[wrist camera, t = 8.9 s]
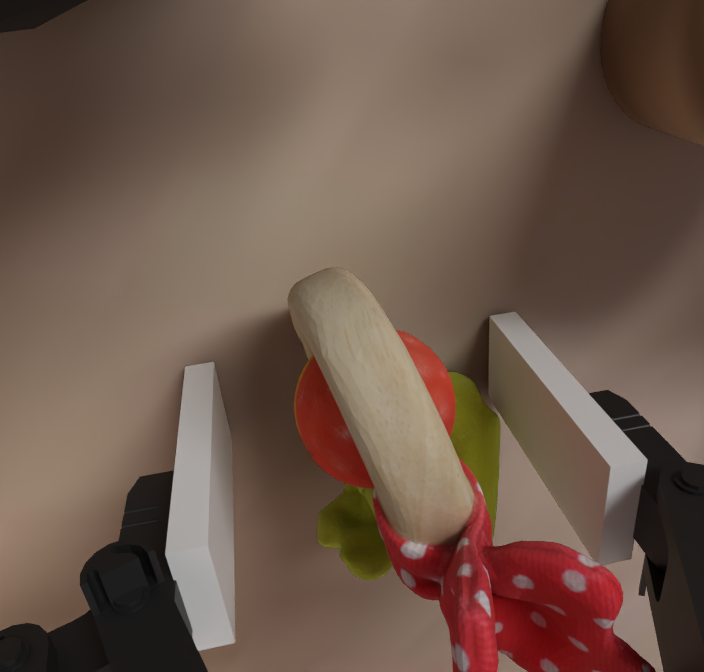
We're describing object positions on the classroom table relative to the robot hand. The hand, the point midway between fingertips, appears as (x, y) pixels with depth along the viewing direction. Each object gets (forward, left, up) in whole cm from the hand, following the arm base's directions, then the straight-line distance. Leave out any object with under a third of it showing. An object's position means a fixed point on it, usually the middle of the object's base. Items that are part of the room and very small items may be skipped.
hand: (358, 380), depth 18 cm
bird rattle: (0, 0, 0) cm, 1 cm away
